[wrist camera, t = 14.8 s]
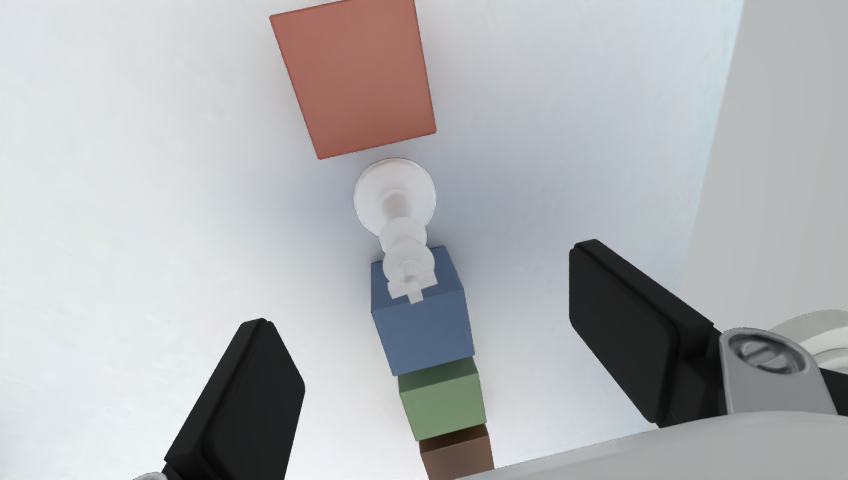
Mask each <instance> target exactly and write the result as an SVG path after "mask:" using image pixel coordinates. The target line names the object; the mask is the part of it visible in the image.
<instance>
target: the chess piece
mask: <svg viewBox="0 0 848 480" xmlns="http://www.w3.org/2000/svg"><path fill="white" fill-rule="evenodd" d="M354 206H355V210H356V213H357V216H358V218H359V219H360V221H361V223H362V224H363V225H364V226H365V227H366V228H367V229H368V230H369V231H370V232H372V233H373V234H375V235H377V236H379V237H380V245H381V247H382V249H383V251H384V252H385V253H386V255H385V257H384V260H383V271H384V274H385V276H386V278H387V279H388V280H389V281H390V282H388V290H389V293H390V295H391V297H392V299H394V298H397V297H400V296H403V295H406V294H407V295H408V298H409V300H410V303H411V304H413V303H416V302H419V301H422V300H423V296H422V292H421V289H423V288H426V287H429V286H432V285H435V284H438V283H437V280H436V277H435V274H434V271H433V270H434V264H435V263H434V257H433V255H432V253H431V251H430V250H429V249H428V248H427V247H426V246H425V245H426V241H427V233H426V230H425V227H426V225H427V224H428V223H429V222H430V220H431V218H432V216H433V214H434V212H435V208H436V191H435V186H434V183H433V181H432V179H431V177H430V176H429V174H428V173H427V172H426V171H425V170H424V169H423V168H422V167H421V166H419V165H418V164H416V163H414V162H412V161H410V160H407V159H402V158H388V159H384V160H381V161H378V162H376V163H374V164H372V165H371V166H369V167H368V168H367V169H366V170H365V171H364V172H363V173H362V174H361V176H360V177H359V179H358V181H357V183H356V186H355V189H354Z"/></svg>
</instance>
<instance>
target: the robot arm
mask: <svg viewBox="0 0 848 480" xmlns="http://www.w3.org/2000/svg"><path fill="white" fill-rule="evenodd" d="M569 319H570V322H571V324H572V326H573V328H574V329H575V331H576V332H577V333H578V334H579V336H580V337H581V338H582V339H583V341H584V342H585V343H586V344H587V346H588V347H589V348H590V349H591V351H592V352H593V353H594V354H595V356H596V357H597V358H598V359H599V361H600V362H601V363H602V365H603V366H604V367H605V368H606V370H607V371H608V372H609V373H610V375H611V376H612V377H613V378H614V380H615V381H616V382H617V383H618V385H619V386H620V387H621V388H622V390H623V391H624V392H625V393H626V395H627V396H628V397H629V399H630V400H631V401H632V402H633V404H634V405H635V406H636V407H637V409H638V410H639V411H640V412H641V414H642V415H643V416H644V417H645V418H646V420H647V421H649V422H650V423H656V424H657V425H658V427H659V428H660V429H656V430H652V431H648V432H643V433H639V434H634V435H630V436H626V437H622V438H618V439H614V440H610V441H606V442H602V443H598V444H594V445H590V446H586V447H582V448H578V449H574V450H569V451H565V452H561V453H557V454H553V455H549V456H545V457H541V458H537V459H533V460H529V461H525V462H521V463H517V464H513V465H509V466H505V467H501V468H497V469H493V470H489V471H485V472H481V473H478V474H474V475H470V476H466V477H462V478H458V479H454V480H848V348H840V349H832V350H828V351H825V352H821V353H818V354H816V355H813V356H812V355H811V354H810V353H809V352H808V351H807V350H805V349H804V348H803V347H802V346H801V345H799V344H797V343H795V342H793V341H792V340H790V339H788V338H786V337H783V336H781V335H778V334H776V333H773V332H769V331H765V330H761V329H755V328H746V327H745V328H744V327H743V328H733V329H730V330H727V331H725V332H724V333H723V334H722V333H721V332H720V331H718V330H717V329H716V328H714V327H713V325H714V323H713V322H711V321H710V320H708V319H707V318H706V317H704V316H702V315H701V314H700V313H699V312H697V311H696V310H694V309H693V308H691V307H690V306H689V305H687V304H686V303H685V302H683V301H682V300H681V299H679V298H678V297H676V296H675V295H674V294H672V293H671V292H669V291H668V290H667V289H665V288H664V287H662V286H661V285H660V284H658V283H657V282H655V281H654V280H653V279H651V278H650V277H648V276H647V275H646V274H644V273H643V272H642V271H640V270H639V269H637V268H636V267H635V266H633V265H632V264H630V263H629V262H628V261H626V260H625V259H623V258H622V257H621V256H619V255H618V254H616V253H615V252H614V251H612V250H611V249H609V248H608V247H607V246H605V245H604V244H603V243H601V242H600V241H598V240H596V239H592V240H587V241H583V242H579V243H576V244H575V245H574V249H571V250H570V252H569ZM304 394H305V385H304V381H303V379H302V377H301V375H300V373H299V371H298V370H297V368H296V366H295V364H294V362H293V360H292V358H291V356H290V354H289V352H288V350H287V349H286V347H285V345H284V343H283V341H282V339H281V337H280V335H279V333H278V331H277V329H276V327H275V326H274V324H273V323H272V322H271V321H268V322H267V320H266V319H264V318H260V319H256V320H251V321H247V322H244V323H242V324H241V325H240V327H239V328H238V330H237V332H236V334H235V335H234V337H233V339H232V341H231V342H230V344H229V346H228V348H227V349H226V351H225V353H224V355H223V356H222V358H221V360H220V362H219V363H218V365H217V367H216V369H215V370H214V372H213V374H212V376H211V377H210V379H209V381H208V383H207V384H206V386H205V388H204V390H203V391H202V393H201V395H200V397H199V398H198V400H197V402H196V404H195V405H194V407H193V409H192V411H191V412H190V414H189V416H188V418H187V419H186V421H185V423H184V424H183V426H182V428H181V430H180V431H179V433H178V435H177V437H176V438H175V440H174V442H173V444H172V445H171V447H170V449H169V451H168V452H167V454H166V456H165V458H164V460H165V461H166V462H167V463H166V465H165V467H164V469H163V470H162V472H161V473H159V472H152V473H146V474H144V475H142V476H139V477H137V478H135V479H133V480H284V478H285V474H286V470H287V465H288V461H289V457H290V453H291V449H292V445H293V440H294V436H295V432H296V428H297V424H298V420H299V415H300V411H301V407H302V403H303V399H304Z"/></svg>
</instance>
